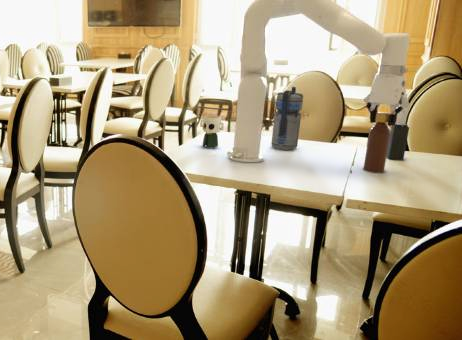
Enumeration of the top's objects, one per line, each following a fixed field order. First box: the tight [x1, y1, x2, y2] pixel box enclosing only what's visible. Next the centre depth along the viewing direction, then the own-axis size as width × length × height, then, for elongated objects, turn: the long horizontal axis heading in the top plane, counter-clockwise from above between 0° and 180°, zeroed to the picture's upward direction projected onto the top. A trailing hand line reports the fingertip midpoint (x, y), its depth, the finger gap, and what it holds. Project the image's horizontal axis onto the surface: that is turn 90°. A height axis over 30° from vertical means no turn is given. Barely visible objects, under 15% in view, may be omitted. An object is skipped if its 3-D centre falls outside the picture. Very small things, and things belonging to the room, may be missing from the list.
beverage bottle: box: [270, 86, 304, 151], centre depth 210 cm, size 10×13×25 cm
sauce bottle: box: [362, 122, 391, 174], centre depth 179 cm, size 6×6×20 cm
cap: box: [375, 111, 391, 123], centre depth 177 cm, size 4×4×3 cm
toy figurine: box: [199, 114, 225, 149], centre depth 212 cm, size 11×7×13 cm, turn 45°
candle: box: [386, 93, 410, 161], centre depth 196 cm, size 5×5×25 cm
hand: (382, 123), depth 178 cm, fingers open, 5 cm apart
